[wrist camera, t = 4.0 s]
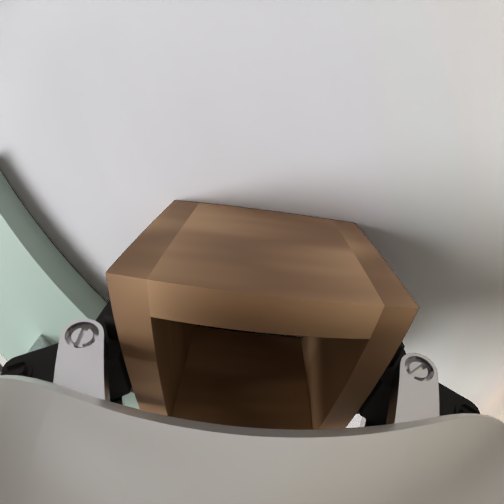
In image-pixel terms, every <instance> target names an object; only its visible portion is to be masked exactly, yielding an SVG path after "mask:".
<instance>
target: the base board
mask: <svg viewBox="0 0 504 504" xmlns="http://www.w3.org/2000/svg"><path fill="white" fill-rule="evenodd" d="M106 305H107V302H106V301H105V300H104V299H103V298H102V297H101V296H100V295H99V294H98V293H97V292H96V291H95V290H94V289H93V288H92V287H91V286H90V285H89V284H88V283H87V282H86V281H85V280H84V279H83V278H82V277H81V276H80V274H79V273H78V272H77V271H76V270H75V269H74V268H73V267H72V266H71V264H70V263H69V262H68V261H67V260H66V259H65V258H64V256H63V255H62V254H61V253H60V252H59V251H58V249H57V248H56V247H55V246H54V245H53V243H52V242H51V241H50V240H49V238H48V237H47V236H46V235H45V233H44V232H43V231H42V230H41V228H40V227H39V226H38V224H37V223H36V222H35V220H34V219H33V218H32V216H31V215H30V214H29V212H28V211H27V210H26V208H25V207H24V205H23V204H22V203H21V201H20V200H19V198H18V197H17V195H16V194H15V192H14V191H13V189H12V188H11V186H10V185H9V183H8V182H7V180H6V179H5V177H4V175H3V174H2V172H1V171H0V354H1V355H2V356H3V357H4V358H5V359H6V360H7V361H9V360H10V359H12V358H14V357H16V356H19V355H22V354H26V353H27V352H28V351H29V349H30V348H31V347H32V345H33V344H34V343H35V341H36V340H37V339H38V337H39V336H40V335H41V334H42V335H43V336H44V337H45V338H46V339H47V340H48V341H49V342H50V343H51V344H52V345H54V344H57V343H59V339H60V334H61V332H62V330H63V328H64V327H65V326H66V325H67V324H69V323H70V322H72V321H75V320H78V319H92V320H96V319H97V317H98V316H99V314H100V313H101V312H102V310H103V309H104V307H105V306H106ZM124 397H125V406H128V407H132V408H136V409H139V406H138V403H137V400H136V397H135V394H134V393H132V392H130V393H129V394H127V395H124Z"/></svg>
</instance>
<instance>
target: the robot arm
mask: <svg viewBox="0 0 504 504" xmlns="http://www.w3.org/2000/svg"><path fill="white" fill-rule="evenodd" d="M404 347H405V346H404V344H403V342H401V344H400V346H399V347H398V349H397V351H396V353H395V355H394V356H393V358H392V360H391V361H390V363H389V365H388V366H387V368H386V370H385V371H384V373H383V375H382V376H381V378H380V379H379V381H378V382H377V384H376V385H375V387H374V389H373V390H372V392H371V393H370V395H369V396H368V397H367V399H366V400H365V402H364V403H363V405H362V406H361V407H360V409H359V410H358V412H357V413H356V414H359V413H360V415H361V416H362V420H361V424H360V427H358V428H344V429H320V430H286V429H263V428H249V427H238V426H228V425H220V424H212V423H205V422H199V421H192V420H186V419H181V418H176V417H170V416H166V415H161V414H156V413H152V412H148V411H144V410H140V409H136V408H132V407H128V406H125V397H124V395H127V394H129V393H130V392H132V393H134V391H133V388H132V385H131V381H130V378H129V375H128V372H127V368H126V365H125V361H124V357H123V354H122V350H121V346H120V342H119V338H118V334H117V330H116V325H115V321H114V316H113V311H112V306H111V301H110V300H109V302H108V303H107V305H106V306H105V307H104V309H103V310H102V312H101V313H100V314H99V316H98V317H97V319H96V320H92V319H78V320H75V321H72V322H70V323H69V324H67V325H66V326H65V327H64V328H63V330H62V332H61V334H60V339H59V343H57V344H54V345H51V346H47V347H44V348H41V349H38V350H35V351H32V352H29V353H26V354H22V355H19V356H16V357H14V358H12V359H10V360H9V361H8V362H6V364H5V365H4V367H3V369H2V372H0V504H504V423H503V422H502V421H500V420H499V419H497V418H494V417H491V416H488V415H482V414H480V412H479V410H478V408H477V407H476V406H475V404H473V403H472V402H471V401H469V400H468V399H466V398H464V397H462V396H461V395H459V394H457V393H455V392H454V391H452V390H450V389H449V388H447V387H445V386H443V385H442V384H440V383H438V372H437V368H436V366H435V365H434V363H433V362H432V361H431V360H430V359H429V358H427V357H426V356H424V355H421V354H418V353H408V354H406V353H405V351H404V349H403V348H404Z"/></svg>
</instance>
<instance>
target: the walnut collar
mask: <svg viewBox="0 0 504 504" xmlns="http://www.w3.org/2000/svg"><path fill="white" fill-rule="evenodd" d="M106 279H107V285H108V291H109V296H110V301H111V306H112V311H113V316H114V321H115V325H116V330H117V334H118V338H119V342H120V346H121V350H122V354H123V357H124V361H125V365H126V368H127V372H128V375H129V378H130V381H131V385H132V388H133V391H134V394H135V397H136V400H137V403H138V406H139V409H140V410H144V411H148V412H152V413H156V414H161V415H166V416H170V417H176V418H181V419H186V420H192V421H199V422H205V423H212V424H220V425H228V426H238V427H249V428H263V429H286V430H320V429H344V428H346V426H347V425H348V424H349V422H350V421H351V420H352V418H353V417H354V416H355V414H356V413H357V412H358V410H359V409H360V407H361V406H362V405H363V403H364V402H365V400H366V399H367V397H368V396H369V395H370V393H371V392H372V390H373V389H374V387H375V385H376V384H377V382H378V381H379V379H380V378H381V376H382V375H383V373H384V371H385V370H386V368H387V366H388V365H389V363H390V361H391V360H392V358H393V356H394V355H395V353H396V351H397V349H398V347H399V346H400V344H401V342H402V340H403V338H404V337H405V335H406V333H407V331H408V329H409V327H410V325H411V323H412V321H413V319H414V317H415V315H416V313H417V311H418V309H419V307H418V305H417V304H416V302H415V301H414V299H413V298H412V296H411V295H410V294H409V292H408V291H407V289H406V288H405V287H404V285H403V284H402V282H401V281H400V280H399V278H398V277H397V276H396V274H395V273H394V272H393V270H392V269H391V267H390V266H389V265H388V264H387V262H386V261H385V260H384V258H383V257H382V256H381V254H380V253H379V252H378V251H377V249H376V248H375V247H374V245H373V244H372V243H371V242H370V240H369V239H368V238H367V237H366V235H365V234H364V233H363V232H362V231H361V229H360V228H359V227H358V226H357V225H356V223H350V222H344V221H338V220H332V219H325V218H318V217H312V216H305V215H298V214H291V213H283V212H276V211H268V210H260V209H252V208H244V207H235V206H226V205H217V204H208V203H198V202H188V201H177V200H174V201H173V202H172V203H171V204H170V205H169V206H168V207H167V208H166V209H165V210H164V211H163V212H162V213H161V214H160V215H159V216H158V217H157V218H156V219H155V220H154V221H153V222H152V223H151V224H150V225H149V226H148V227H147V228H146V229H145V230H144V231H143V232H142V233H141V234H140V235H139V236H138V238H137V239H136V240H135V241H134V242H133V243H132V244H131V245H130V246H129V247H128V248H127V249H126V250H125V251H124V252H123V254H122V255H121V256H120V257H119V258H118V259H117V260H116V261H115V262H114V264H113V265H112V266H111V267H110V268H109V269H108V270H107V271H106ZM196 324H197V325H204V326H211V327H218V328H226V329H234V330H243V331H252V332H261V333H271V334H282V335H295V336H301V338H296V337H284V336H272V335H262V334H252V333H243V332H235V331H227V330H219V329H212V328H205V327H198V326H196Z"/></svg>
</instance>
